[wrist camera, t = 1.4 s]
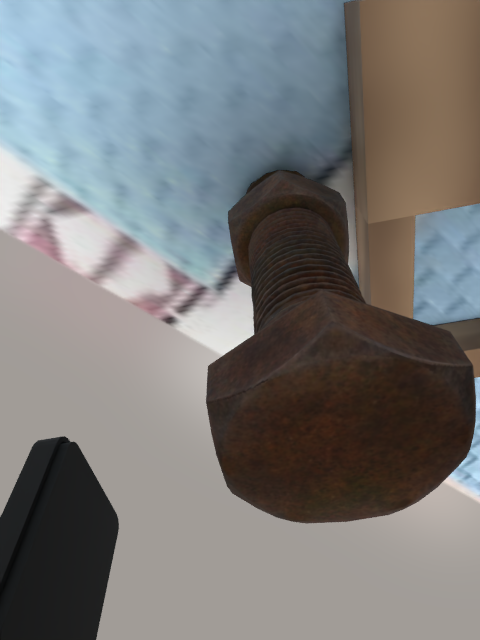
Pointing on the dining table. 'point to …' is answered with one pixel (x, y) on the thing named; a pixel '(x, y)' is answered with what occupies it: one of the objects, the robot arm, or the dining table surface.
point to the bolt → (329, 373)
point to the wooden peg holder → (411, 136)
